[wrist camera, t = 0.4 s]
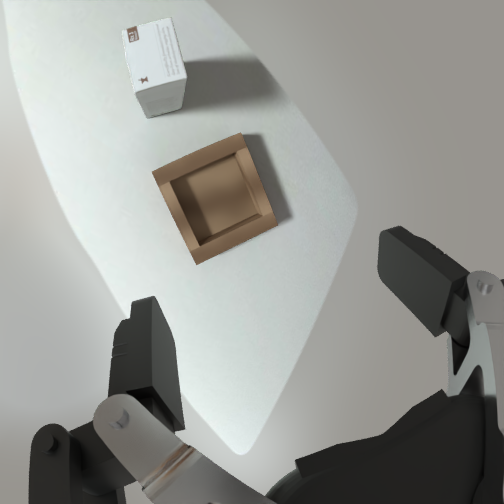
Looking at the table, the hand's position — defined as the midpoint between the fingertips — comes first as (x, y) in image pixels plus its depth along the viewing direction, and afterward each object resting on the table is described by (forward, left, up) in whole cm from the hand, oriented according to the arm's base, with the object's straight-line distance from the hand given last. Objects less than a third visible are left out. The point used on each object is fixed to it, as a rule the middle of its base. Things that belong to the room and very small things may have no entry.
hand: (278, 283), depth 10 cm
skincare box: (-13, +1, -26) cm, 29 cm away
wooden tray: (+1, +2, -26) cm, 26 cm away
